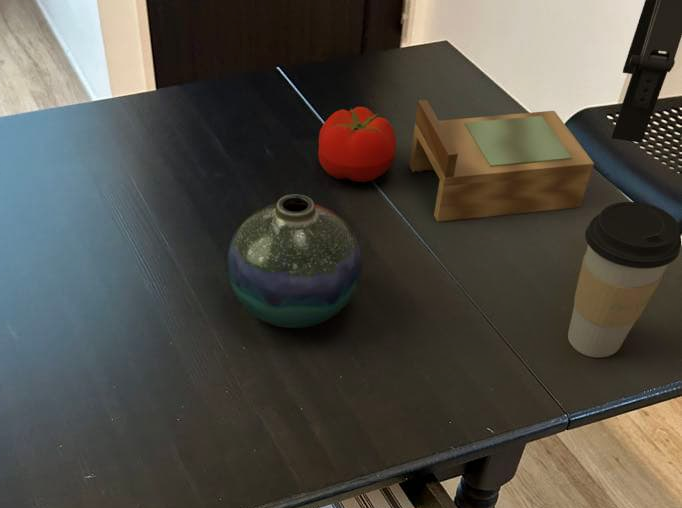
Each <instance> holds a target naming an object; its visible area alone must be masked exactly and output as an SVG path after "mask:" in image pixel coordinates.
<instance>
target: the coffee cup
mask: <svg viewBox="0 0 682 508" xmlns="http://www.w3.org/2000/svg"><path fill="white" fill-rule="evenodd" d="M679 225H680V224H679V223H678V222H677V219H676V218H675V217H673V215H671V213H669V212H668V211H666V210H664V209H662V208H661V207H658V206H656V205H653V204H649V203H644V202H638V201H620V202H615V203H612V204H609V205H607V206H606V207H604V208H603V209H602V210H601V211H600V213H598V214H597V215H595V216H594V217H593V218H592V219H591V220H590V223H589V225H587V227H586V229H585V234H584V235H585V240H586V243H587V247H586V251H585V253H584V255H583V258H582V261H581V262H582V263H581V267H580V272H579V276H578V281H577V285H576V290H575V293H574V300H573V303H574V305H573V309H572V314H571V319H570V323H569V328H568V332H567V340H568V343H569V345H570V346H572V348H573V349H574V350H575V351H577V352H578V353H579V354H582V355H584V356H586V357H590V358H597V359H598V358H600V359H601V358H606V357H610V356H612V355H614V354H616V353H617V352H618V351H619V350H620V349H621V346H622V345H623V343H624V341H625V340H626V338H627V337H628V335H629V333H630V332H631V330H632V328H633V326H634V325H635V322H636V321H638V320H639V318H640V317H641V316H642V313H643V312H644V310H645V308H646V307H647V305H648V303H649V301H650V300H651V298H652V296H653V294H655V291H656V290H657V288H658V286H659V285H660V282H662V281H661V280H662V279H663V277H664V275H665V271H666V269H667V267H668V265H669V264H671V263H673V262H674V261H675V260H676V259H677V258H678V257H679V255H680V252H681V247H682V237H681V236H682V235H681V234H680V226H679Z"/></svg>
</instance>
